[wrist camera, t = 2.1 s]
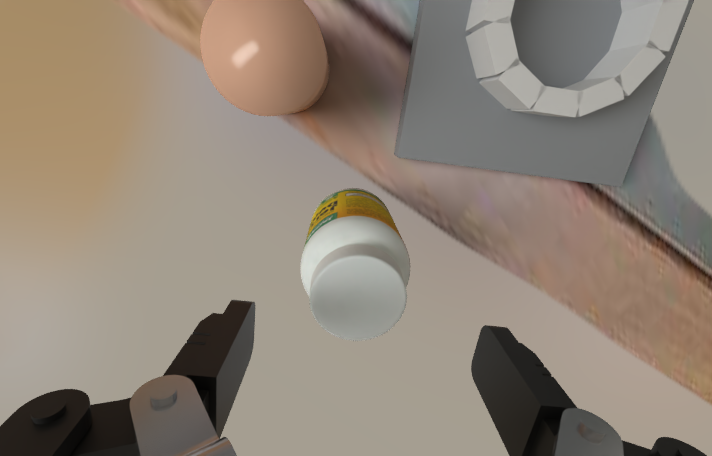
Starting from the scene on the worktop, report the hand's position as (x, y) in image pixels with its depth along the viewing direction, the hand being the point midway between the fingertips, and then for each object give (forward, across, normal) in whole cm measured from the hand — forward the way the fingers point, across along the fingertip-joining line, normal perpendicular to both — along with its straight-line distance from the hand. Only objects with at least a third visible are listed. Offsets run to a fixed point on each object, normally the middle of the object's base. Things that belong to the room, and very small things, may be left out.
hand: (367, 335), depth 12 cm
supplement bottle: (+12, 0, 0) cm, 12 cm away
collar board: (+12, -9, -13) cm, 20 cm away
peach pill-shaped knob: (+12, +5, -9) cm, 16 cm away
